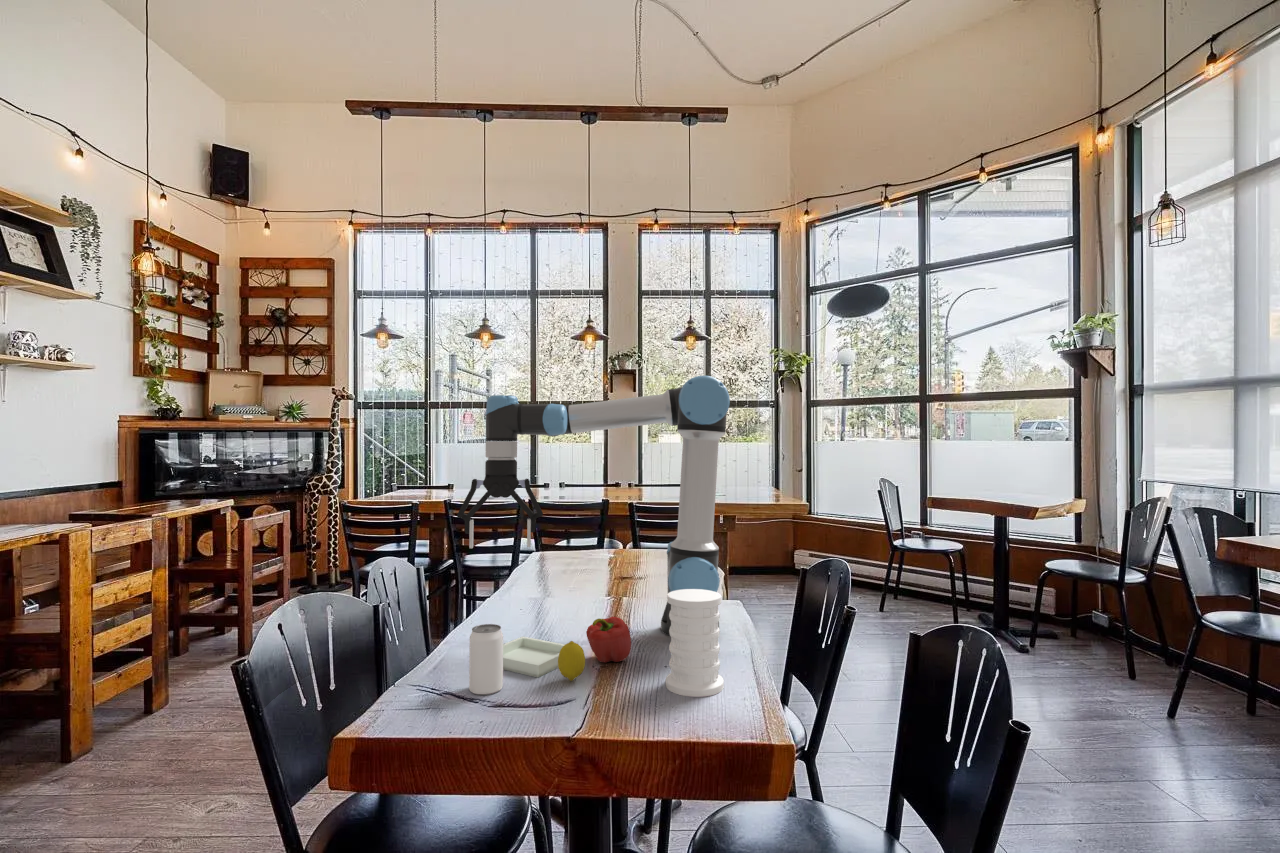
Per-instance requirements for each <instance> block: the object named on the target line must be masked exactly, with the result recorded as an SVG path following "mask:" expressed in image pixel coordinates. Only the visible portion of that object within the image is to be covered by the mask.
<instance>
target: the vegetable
mask: <svg viewBox="0 0 1280 853" xmlns="http://www.w3.org/2000/svg"><path fill="white" fill-rule="evenodd" d="M585 634H586V638H587V641H588V643H589V646H590V649H591V651H592V652H593V654H594V656H595V658H596V660H597V661H598V662H600V663H603V664H604V663H609V662H611V661H612V662H614V663H619V662H622V661H624V660H626V659H627V658H628V656H629V655H630V653H631V650H632V637H631V632H630V629H629V626H628V625H627V623H626V622H625V621H624V620H623V619H622V618H620V617H618V616H613V615H612V616H610V617H608V618H596V619H595V620H593V622H592V624H590V625H589V626H588V627H587V629H586V631H585Z"/></svg>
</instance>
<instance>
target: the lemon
mask: <svg viewBox="0 0 1280 853" xmlns="http://www.w3.org/2000/svg"><path fill="white" fill-rule="evenodd" d="M585 666H586V654H585V652H584V648H583V647H582V646H581V645H580V644H579V643H576V642H575V641H573V640H571V641H569V642H567V643H566V644H565V645H564V646H563V647H562V648H561V650H560V653H559V657H558V667H559V668H558V671H559V673H560V674H561V675H562V676H563V677H565V678H567V679H568V680H569V681H570V682H572V681H574V680H575V679H576V678H578V677H580V676H581V675H582V674H583V672H584V670H585Z"/></svg>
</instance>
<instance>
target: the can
mask: <svg viewBox="0 0 1280 853" xmlns="http://www.w3.org/2000/svg"><path fill="white" fill-rule="evenodd" d="M503 644H504V634H503V631H502V627H501V625H499V624H495V623H494V624H493V623H486V624H479V625H476V626H473V627H471V634H470V635H469V652H468V653H469V656H468V657H469V660H468V662H469V664H468V665H469V666H468V668H469V670H468V673H469V676H468V681H469V682H468V689H469V691H470V693H471V694H474V695H477V696H487V695H488V696H489V695H494V694H496V693H499V692H500V691H501V690H502V689H503V686H504V670H503Z"/></svg>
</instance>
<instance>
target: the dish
mask: <svg viewBox="0 0 1280 853" xmlns="http://www.w3.org/2000/svg"><path fill="white" fill-rule="evenodd" d="M564 645H565V644H564V643H559V642H555V641H548V640H545V639H544V640H543V639H538V638H533V637H530V636H529V637H528V636H520V637H518V638H515V639H513V640H510V641H507V642H505V643H503V671H508V672H511V673H512V672H513V673H515V674H516V673H517V674H521V675H525V676H529V677H535V678H541V677H543V676H545V675H546V674H549V673H551V672H553V671H554V670H557V669H559V667H558V657H559V653H560V650H561V648H562V647H563V646H564Z"/></svg>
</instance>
